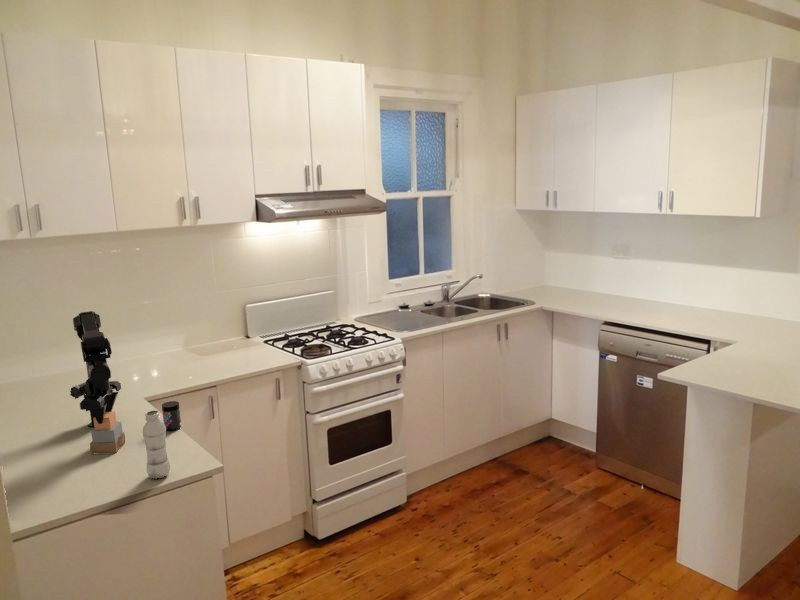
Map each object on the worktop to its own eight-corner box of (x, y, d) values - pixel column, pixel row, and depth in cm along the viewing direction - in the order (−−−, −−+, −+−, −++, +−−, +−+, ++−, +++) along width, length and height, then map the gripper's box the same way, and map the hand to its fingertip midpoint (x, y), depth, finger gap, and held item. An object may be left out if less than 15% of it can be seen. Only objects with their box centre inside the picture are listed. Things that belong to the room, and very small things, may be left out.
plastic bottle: (142, 479, 186) (134, 416, 182) (158, 469, 193) (151, 407, 188) (160, 483, 184) (152, 418, 180) (175, 472, 190) (169, 409, 186)
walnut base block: (101, 444, 212) (99, 433, 211) (125, 443, 213) (124, 432, 212) (91, 455, 204) (89, 443, 204) (116, 454, 205) (115, 442, 204)
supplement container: (164, 426, 225) (161, 402, 223) (181, 424, 227) (179, 400, 225) (163, 432, 220) (160, 408, 218) (181, 430, 221) (178, 405, 219)
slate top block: (101, 434, 211) (99, 422, 210) (122, 432, 211) (121, 421, 211) (92, 443, 204) (91, 431, 203) (115, 441, 205) (113, 430, 204)
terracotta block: (101, 423, 209) (99, 412, 208) (116, 422, 210) (115, 411, 209) (94, 429, 204) (93, 418, 204) (110, 429, 205) (109, 417, 204)
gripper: (84, 366, 212) (90, 410, 215) (59, 385, 193) (66, 432, 197) (118, 364, 212) (124, 408, 216) (96, 383, 194) (103, 431, 197)
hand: (104, 419), depth 206 cm, fingers open, 6 cm apart
